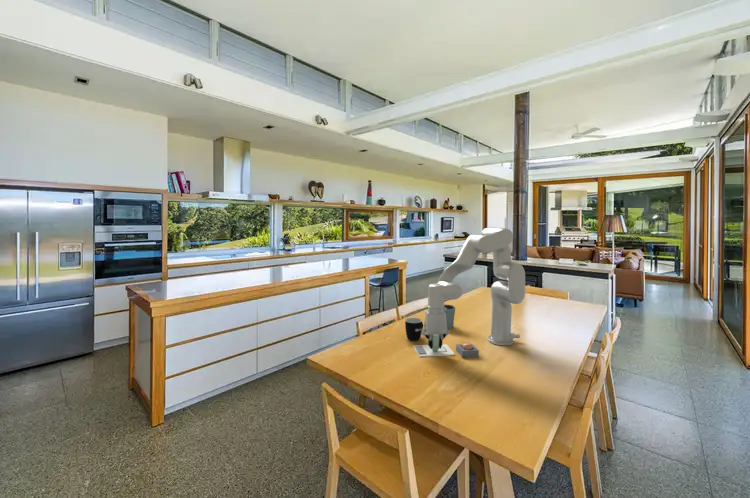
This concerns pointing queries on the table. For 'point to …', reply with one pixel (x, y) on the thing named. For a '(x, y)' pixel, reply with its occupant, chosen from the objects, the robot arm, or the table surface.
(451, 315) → the blue-gray cup
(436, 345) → the marker
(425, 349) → the picture board
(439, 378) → the table surface
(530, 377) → the table surface
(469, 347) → the button
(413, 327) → the mug
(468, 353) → the button housing
